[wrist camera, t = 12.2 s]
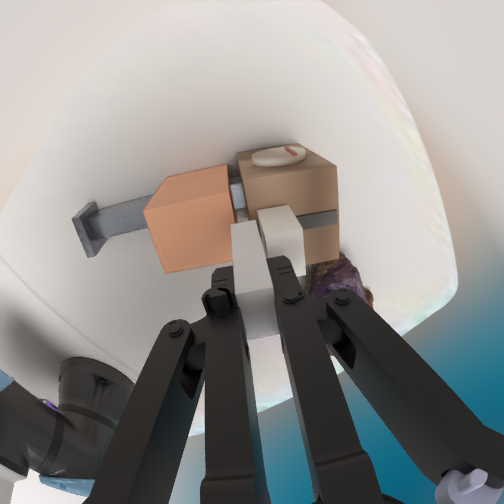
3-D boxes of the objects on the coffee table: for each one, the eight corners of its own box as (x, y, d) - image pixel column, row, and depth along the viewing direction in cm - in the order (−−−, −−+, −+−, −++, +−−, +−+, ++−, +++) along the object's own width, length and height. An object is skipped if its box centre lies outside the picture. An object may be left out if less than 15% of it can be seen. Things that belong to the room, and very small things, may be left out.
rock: (347, 237, 33) (275, 278, 34) (377, 266, 25) (285, 317, 26) (375, 306, 37) (313, 340, 38) (402, 342, 29) (328, 382, 30)
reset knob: (263, 251, 19) (271, 281, 16) (256, 210, 18) (264, 234, 14) (292, 245, 19) (305, 274, 16) (288, 204, 18) (302, 227, 14)
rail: (101, 239, 28) (88, 257, 25) (87, 203, 26) (71, 218, 22) (255, 205, 28) (260, 221, 25) (248, 164, 26) (252, 174, 23)
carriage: (179, 224, 28) (164, 273, 21) (166, 177, 26) (142, 211, 18) (236, 213, 28) (242, 259, 21) (226, 164, 26) (228, 192, 18)
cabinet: (248, 219, 29) (260, 275, 20) (234, 145, 25) (241, 169, 16) (304, 209, 29) (340, 259, 20) (296, 136, 25) (336, 155, 16)
